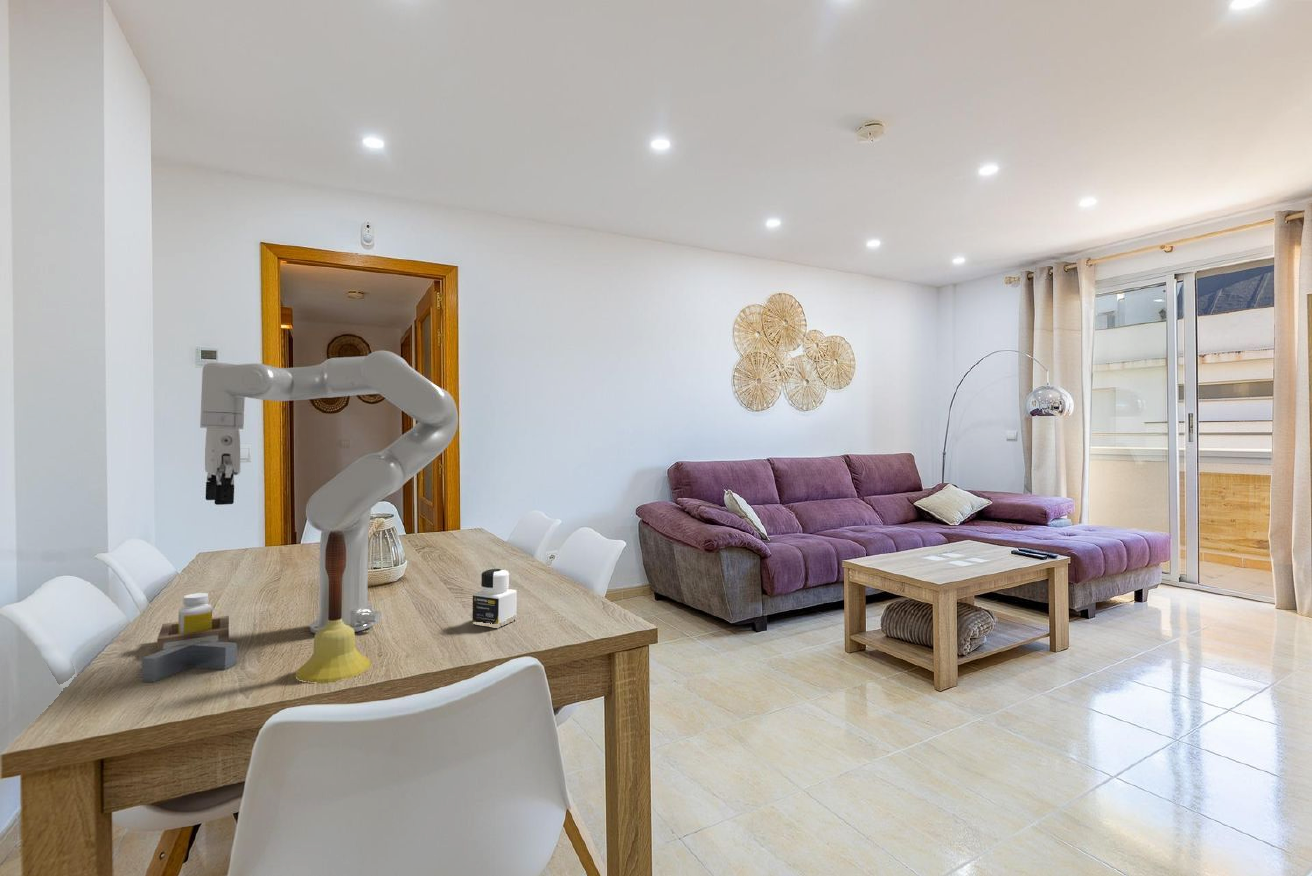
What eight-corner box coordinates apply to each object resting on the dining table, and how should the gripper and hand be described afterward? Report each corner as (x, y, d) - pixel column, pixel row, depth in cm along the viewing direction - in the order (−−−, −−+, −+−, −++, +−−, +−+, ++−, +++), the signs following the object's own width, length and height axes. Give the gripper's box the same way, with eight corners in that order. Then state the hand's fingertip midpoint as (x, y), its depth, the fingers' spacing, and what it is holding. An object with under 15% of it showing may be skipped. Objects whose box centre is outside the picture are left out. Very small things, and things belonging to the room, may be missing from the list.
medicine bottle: (471, 625, 137) (472, 572, 137) (491, 617, 143) (492, 566, 143) (497, 629, 134) (498, 575, 134) (516, 620, 141) (517, 568, 141)
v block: (144, 668, 109) (144, 645, 109) (234, 653, 117) (234, 632, 117) (140, 684, 102) (141, 660, 102) (236, 667, 110) (237, 645, 110)
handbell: (383, 657, 116) (385, 526, 116) (352, 684, 104) (354, 537, 104) (317, 657, 116) (319, 526, 116) (279, 683, 104) (281, 536, 104)
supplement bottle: (218, 641, 124) (218, 593, 124) (190, 650, 119) (190, 600, 119) (199, 638, 126) (200, 590, 125) (171, 646, 120) (171, 597, 120)
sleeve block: (228, 631, 130) (228, 615, 130) (228, 646, 121) (228, 629, 121) (162, 641, 123) (162, 623, 123) (157, 657, 114) (157, 639, 114)
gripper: (253, 422, 126) (249, 505, 126) (234, 422, 138) (231, 497, 138) (208, 420, 121) (205, 507, 121) (193, 420, 133) (190, 499, 133)
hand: (219, 502), depth 129 cm, fingers open, 9 cm apart
